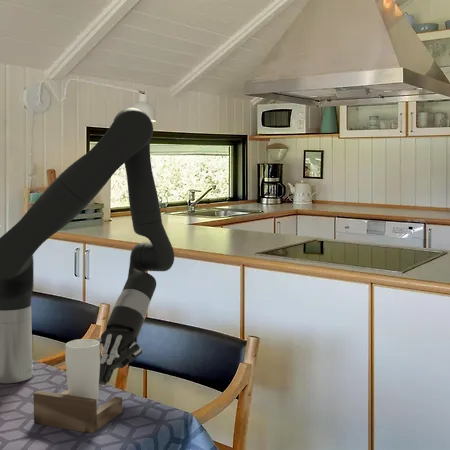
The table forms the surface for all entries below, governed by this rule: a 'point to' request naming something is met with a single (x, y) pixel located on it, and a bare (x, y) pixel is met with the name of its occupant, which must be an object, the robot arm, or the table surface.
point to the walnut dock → (73, 411)
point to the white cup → (83, 367)
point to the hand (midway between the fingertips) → (100, 383)
